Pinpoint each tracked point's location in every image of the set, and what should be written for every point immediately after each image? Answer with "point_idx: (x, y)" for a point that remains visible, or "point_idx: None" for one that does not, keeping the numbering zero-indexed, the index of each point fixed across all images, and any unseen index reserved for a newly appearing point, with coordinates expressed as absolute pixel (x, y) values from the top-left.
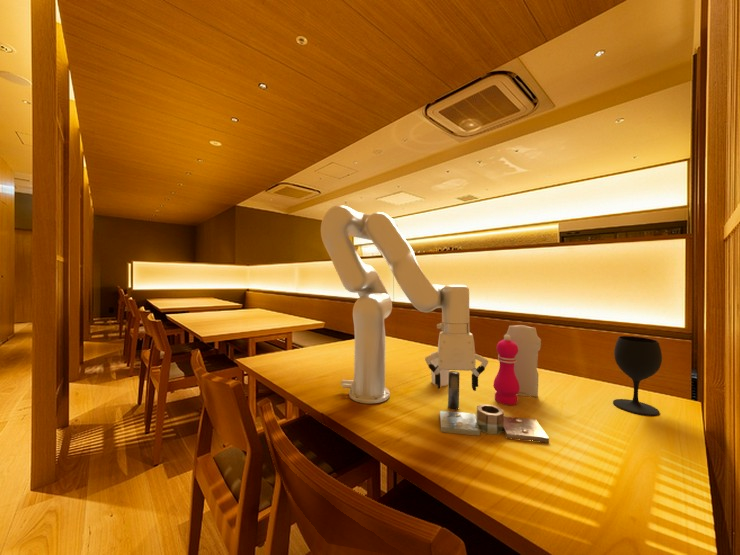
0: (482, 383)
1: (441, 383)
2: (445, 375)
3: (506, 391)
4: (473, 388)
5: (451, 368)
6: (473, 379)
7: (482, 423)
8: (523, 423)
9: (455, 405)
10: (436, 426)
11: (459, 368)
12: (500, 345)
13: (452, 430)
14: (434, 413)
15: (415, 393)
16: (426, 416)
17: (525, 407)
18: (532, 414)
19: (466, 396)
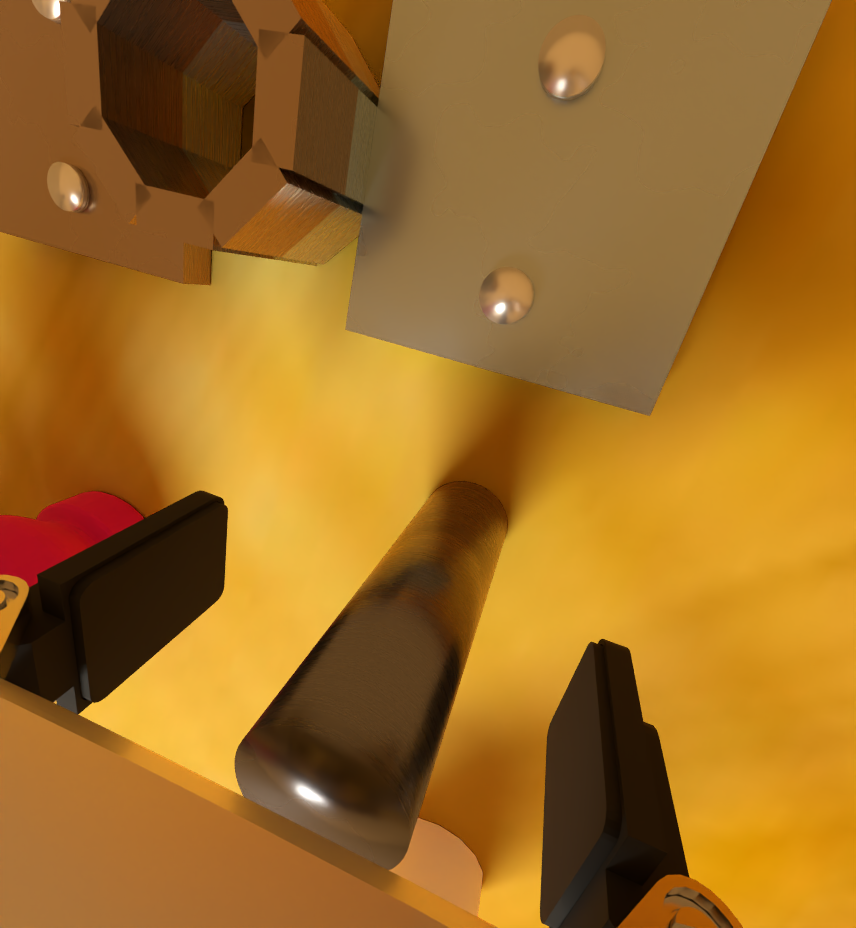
0: (190, 764)
1: (428, 841)
2: None
3: (27, 532)
4: (209, 511)
5: (331, 896)
6: (109, 567)
7: (338, 33)
8: (52, 152)
9: (454, 495)
10: (806, 148)
11: (109, 795)
12: None
13: None
14: (684, 439)
15: (692, 798)
16: (808, 385)
17: (41, 455)
18: (21, 365)
19: None
